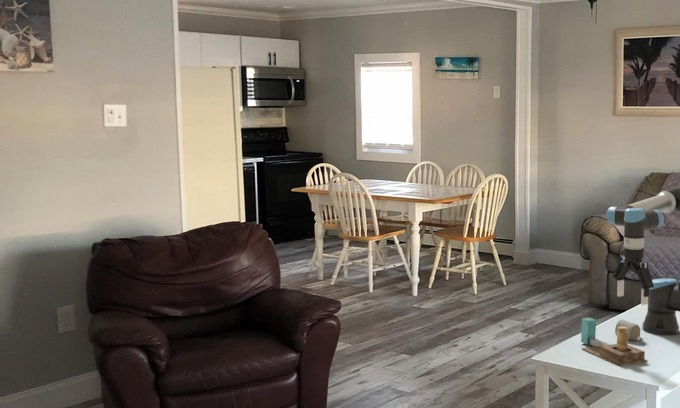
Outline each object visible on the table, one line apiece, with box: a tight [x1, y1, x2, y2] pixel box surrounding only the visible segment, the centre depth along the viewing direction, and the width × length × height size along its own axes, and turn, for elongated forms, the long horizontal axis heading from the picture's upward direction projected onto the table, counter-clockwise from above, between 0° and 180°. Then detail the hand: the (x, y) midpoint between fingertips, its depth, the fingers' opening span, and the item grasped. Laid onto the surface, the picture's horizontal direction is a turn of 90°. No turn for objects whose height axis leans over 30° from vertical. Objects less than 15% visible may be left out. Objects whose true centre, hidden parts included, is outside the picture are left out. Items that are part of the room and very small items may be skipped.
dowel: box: [616, 327, 629, 352], centre depth 320 cm, size 4×4×12 cm
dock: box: [581, 343, 648, 367], centre depth 325 cm, size 14×22×4 cm, turn 22°
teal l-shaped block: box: [580, 317, 616, 350], centre depth 333 cm, size 4×18×10 cm, turn 22°
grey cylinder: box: [614, 319, 641, 341], centre depth 348 cm, size 11×8×8 cm
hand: (632, 300), depth 321 cm, fingers open, 13 cm apart
